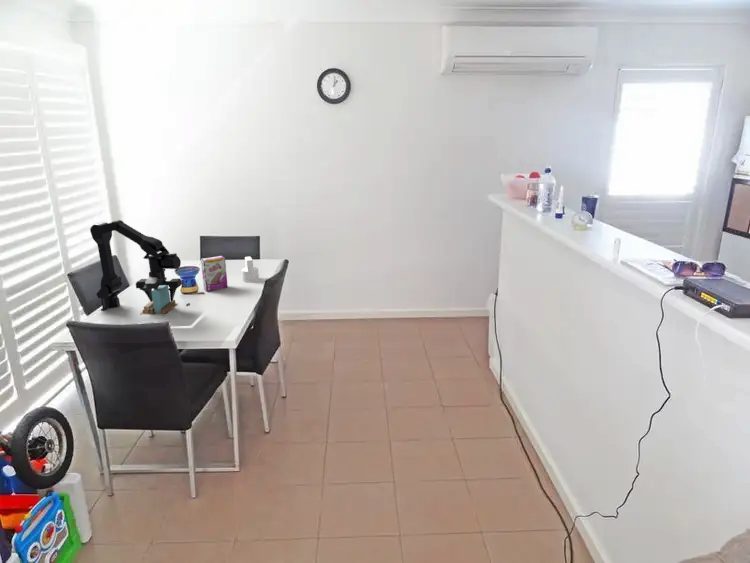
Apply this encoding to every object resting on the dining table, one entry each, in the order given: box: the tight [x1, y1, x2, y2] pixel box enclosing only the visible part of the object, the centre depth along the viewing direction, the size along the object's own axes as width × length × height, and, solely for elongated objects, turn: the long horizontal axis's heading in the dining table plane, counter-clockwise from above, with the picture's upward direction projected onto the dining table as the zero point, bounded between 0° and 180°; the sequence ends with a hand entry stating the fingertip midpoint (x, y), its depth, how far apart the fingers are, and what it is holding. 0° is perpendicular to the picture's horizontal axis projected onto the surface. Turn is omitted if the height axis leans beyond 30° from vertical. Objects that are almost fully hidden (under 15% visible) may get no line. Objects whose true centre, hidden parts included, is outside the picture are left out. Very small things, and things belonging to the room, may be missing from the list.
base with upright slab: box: [240, 256, 260, 283], centre depth 270 cm, size 9×9×12 cm
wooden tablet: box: [185, 291, 206, 307], centre depth 240 cm, size 27×10×2 cm, turn 17°
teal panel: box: [151, 285, 171, 313], centre depth 226 cm, size 3×10×10 cm, turn 179°
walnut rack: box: [139, 299, 180, 316], centre depth 227 cm, size 12×14×3 cm
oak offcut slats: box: [141, 300, 154, 313], centre depth 227 cm, size 3×10×2 cm, turn 179°
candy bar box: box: [200, 255, 228, 292], centre depth 256 cm, size 11×5×16 cm, turn 126°
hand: (161, 301), depth 226 cm, fingers open, 9 cm apart
